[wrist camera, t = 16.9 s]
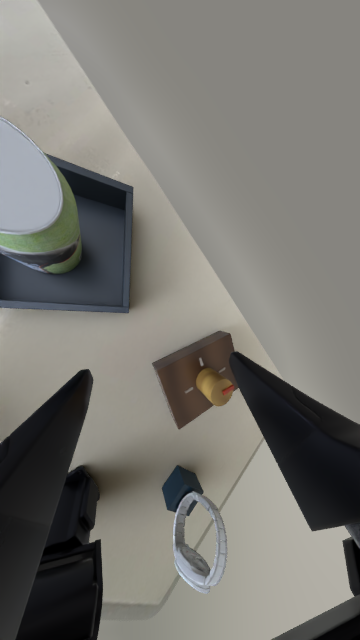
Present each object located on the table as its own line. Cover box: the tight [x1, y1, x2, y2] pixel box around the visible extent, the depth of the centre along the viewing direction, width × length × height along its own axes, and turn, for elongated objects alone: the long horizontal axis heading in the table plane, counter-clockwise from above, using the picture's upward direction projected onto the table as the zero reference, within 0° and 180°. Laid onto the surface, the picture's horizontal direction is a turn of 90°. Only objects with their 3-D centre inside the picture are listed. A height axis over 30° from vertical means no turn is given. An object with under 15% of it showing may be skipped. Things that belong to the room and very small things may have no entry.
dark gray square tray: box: [0, 154, 133, 313], centre depth 16 cm, size 14×14×4 cm
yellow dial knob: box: [196, 368, 234, 406], centre depth 22 cm, size 4×4×4 cm
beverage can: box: [0, 116, 82, 274], centre depth 11 cm, size 6×7×12 cm
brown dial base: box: [152, 331, 239, 429], centre depth 25 cm, size 14×11×3 cm
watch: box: [162, 465, 227, 593], centre depth 23 cm, size 6×8×11 cm
